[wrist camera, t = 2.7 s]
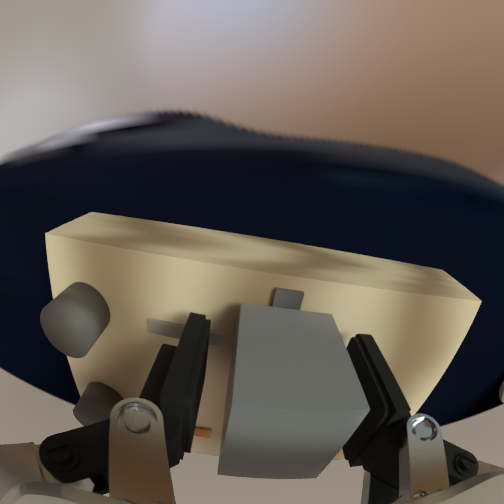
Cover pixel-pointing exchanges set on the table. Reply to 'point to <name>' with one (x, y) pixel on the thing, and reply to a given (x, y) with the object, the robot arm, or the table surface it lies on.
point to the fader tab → (288, 395)
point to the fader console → (230, 306)
